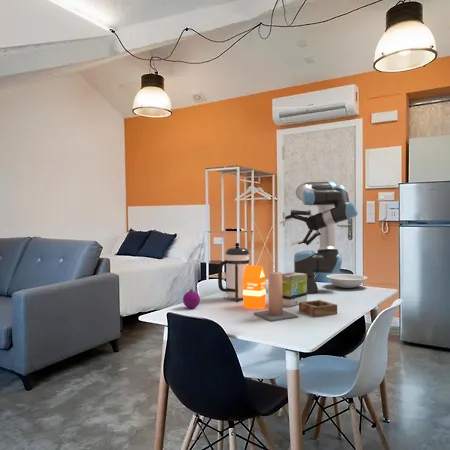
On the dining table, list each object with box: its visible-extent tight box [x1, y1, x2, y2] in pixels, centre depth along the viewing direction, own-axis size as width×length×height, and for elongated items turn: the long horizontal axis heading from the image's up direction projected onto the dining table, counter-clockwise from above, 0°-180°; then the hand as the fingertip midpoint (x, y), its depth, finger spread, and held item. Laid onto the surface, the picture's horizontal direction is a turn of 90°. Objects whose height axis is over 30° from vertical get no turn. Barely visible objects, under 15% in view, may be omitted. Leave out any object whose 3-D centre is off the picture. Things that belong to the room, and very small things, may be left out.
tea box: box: [282, 271, 308, 307], centre depth 200 cm, size 15×10×15 cm, turn 137°
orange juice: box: [242, 264, 267, 310], centre depth 193 cm, size 8×9×20 cm
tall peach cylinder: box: [267, 271, 284, 316], centre depth 174 cm, size 6×6×18 cm
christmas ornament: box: [182, 287, 201, 309], centre depth 191 cm, size 8×8×10 cm
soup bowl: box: [326, 273, 368, 289], centre depth 242 cm, size 24×24×7 cm
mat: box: [253, 309, 299, 322], centre depth 174 cm, size 14×14×1 cm
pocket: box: [298, 299, 338, 318], centre depth 180 cm, size 12×12×4 cm
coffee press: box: [217, 242, 250, 303], centre depth 210 cm, size 17×16×30 cm
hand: (285, 232), depth 205 cm, fingers open, 13 cm apart
